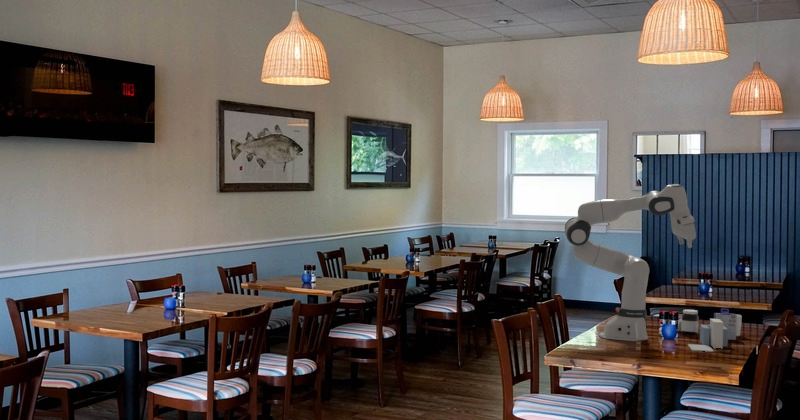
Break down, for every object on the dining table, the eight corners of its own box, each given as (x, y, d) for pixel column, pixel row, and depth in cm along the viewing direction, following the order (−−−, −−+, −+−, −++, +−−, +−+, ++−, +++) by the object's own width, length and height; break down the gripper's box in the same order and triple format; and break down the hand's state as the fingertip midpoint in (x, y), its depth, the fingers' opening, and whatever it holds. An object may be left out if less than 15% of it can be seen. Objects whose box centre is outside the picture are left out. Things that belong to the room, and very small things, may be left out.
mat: (692, 350, 352) (692, 349, 352) (687, 345, 364) (687, 344, 364) (713, 352, 350) (713, 350, 350) (708, 346, 362) (708, 345, 362)
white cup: (724, 335, 392) (724, 315, 391) (723, 333, 399) (724, 313, 399) (741, 337, 389) (742, 316, 388) (741, 334, 396) (741, 314, 396)
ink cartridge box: (734, 338, 385) (735, 308, 385) (736, 340, 379) (737, 310, 379) (712, 337, 387) (713, 307, 387) (714, 339, 381) (715, 309, 381)
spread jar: (695, 336, 389) (696, 312, 389) (671, 333, 395) (672, 310, 395) (700, 332, 399) (701, 309, 399) (677, 330, 405) (678, 307, 405)
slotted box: (703, 345, 365) (703, 328, 365) (699, 341, 375) (700, 324, 375) (727, 346, 363) (728, 329, 363) (723, 342, 373) (723, 325, 373)
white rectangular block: (713, 348, 359) (714, 322, 358) (709, 344, 369) (709, 318, 368) (722, 348, 358) (723, 322, 358) (718, 344, 368) (719, 319, 367)
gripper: (665, 216, 381) (671, 243, 383) (682, 222, 361) (687, 251, 363) (678, 213, 381) (683, 240, 383) (695, 219, 361) (701, 248, 363)
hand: (685, 245), depth 373 cm, fingers open, 8 cm apart
